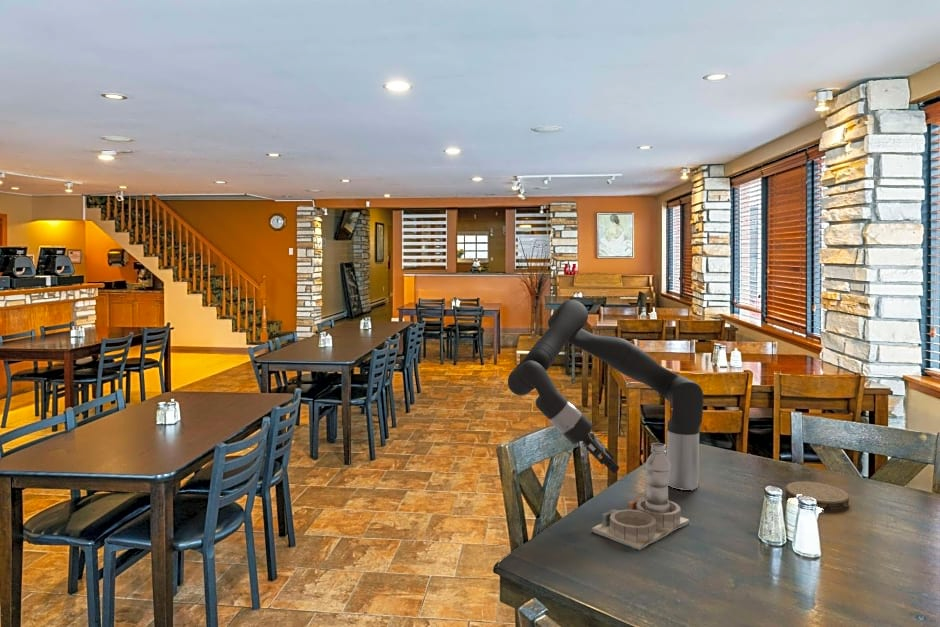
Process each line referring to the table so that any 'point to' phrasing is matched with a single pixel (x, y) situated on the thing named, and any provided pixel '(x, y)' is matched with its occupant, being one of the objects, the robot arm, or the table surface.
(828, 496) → the brown round disc
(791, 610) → the table surface
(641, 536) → the bottle stand
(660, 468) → the plastic bottle
